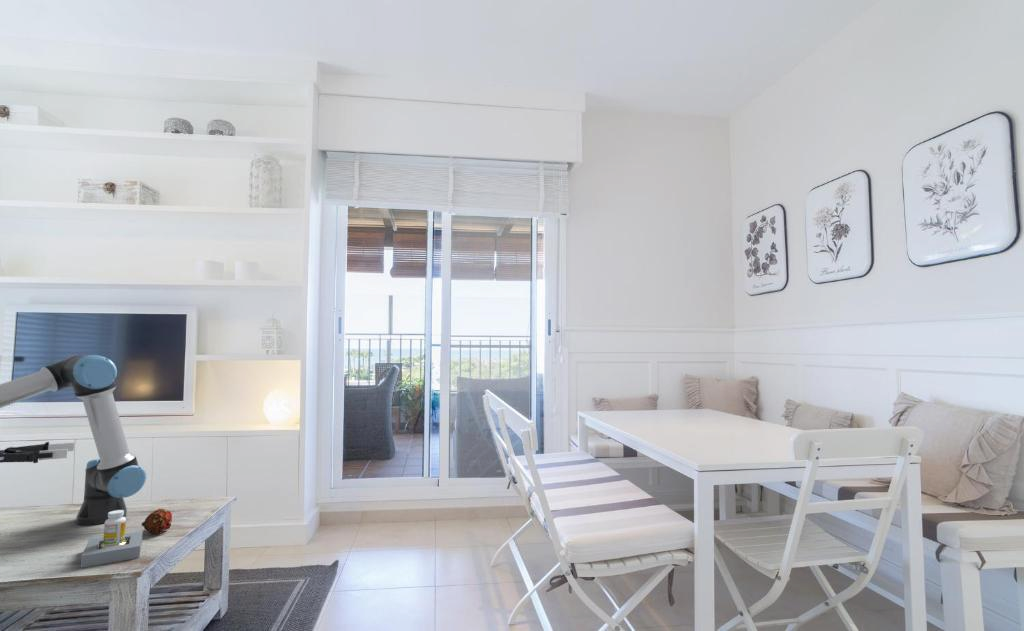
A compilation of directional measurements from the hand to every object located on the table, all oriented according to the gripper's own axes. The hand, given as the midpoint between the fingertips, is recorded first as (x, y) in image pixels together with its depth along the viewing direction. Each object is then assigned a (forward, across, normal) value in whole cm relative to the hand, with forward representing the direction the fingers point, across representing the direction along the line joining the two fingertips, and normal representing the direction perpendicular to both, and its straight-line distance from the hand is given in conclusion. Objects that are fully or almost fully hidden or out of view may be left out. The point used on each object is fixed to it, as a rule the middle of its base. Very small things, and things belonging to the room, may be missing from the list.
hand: (71, 449), depth 164 cm
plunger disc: (+14, +12, -31) cm, 36 cm away
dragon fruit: (+25, -5, -32) cm, 41 cm away
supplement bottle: (+14, +12, -29) cm, 34 cm away
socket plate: (+14, +12, -32) cm, 37 cm away
